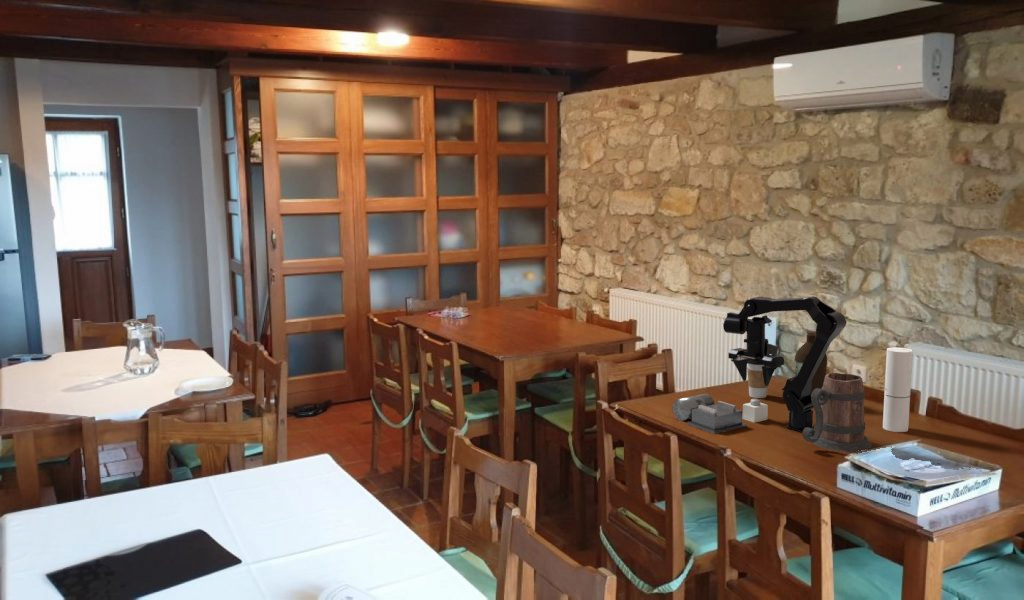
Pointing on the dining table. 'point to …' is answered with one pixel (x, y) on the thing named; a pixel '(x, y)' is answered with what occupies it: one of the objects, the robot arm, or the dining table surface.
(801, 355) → the olive oil
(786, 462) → the dining table surface
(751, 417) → the white knobbed block
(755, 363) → the coffee cup
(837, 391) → the tankard
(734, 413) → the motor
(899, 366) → the cylindrical container
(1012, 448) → the dining table surface
